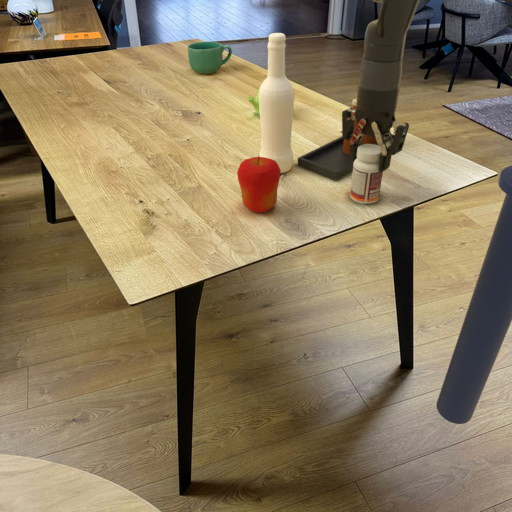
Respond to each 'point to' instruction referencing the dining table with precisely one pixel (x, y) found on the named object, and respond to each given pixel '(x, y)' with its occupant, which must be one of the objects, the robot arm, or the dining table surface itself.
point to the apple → (259, 183)
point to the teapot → (255, 102)
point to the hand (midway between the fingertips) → (368, 165)
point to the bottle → (276, 107)
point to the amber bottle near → (346, 143)
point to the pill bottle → (366, 174)
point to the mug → (207, 56)
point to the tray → (329, 160)
